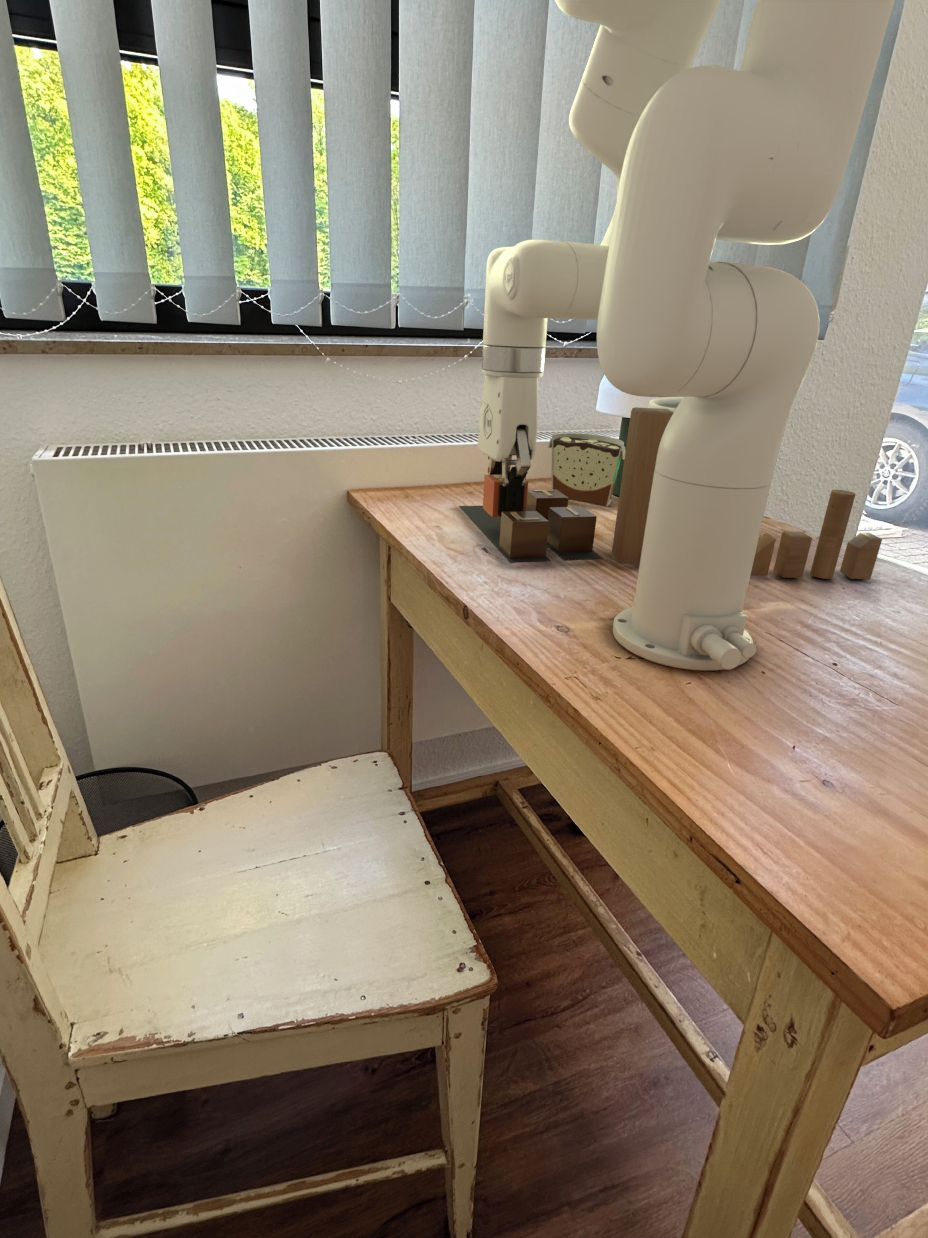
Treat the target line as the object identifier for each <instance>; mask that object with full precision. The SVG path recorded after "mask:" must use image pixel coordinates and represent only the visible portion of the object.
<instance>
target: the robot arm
mask: <svg viewBox="0 0 928 1238" xmlns="http://www.w3.org/2000/svg"><path fill="white" fill-rule="evenodd" d="M895 1H896V0H757V2H756V4H755V7H754V9H753V13H752V15H751V20H750V23H749V28H748V34H747V38H746V44H745V49H744V53H743V56H742V60H741V63H740V69H735V68H731V67H726V66H720V65H715V64H714V65H698V66H693V65H694V63H695V61H696V58H697V57H698V54H699V52H700V49H701V48H702V45H703V42H704V40H705V38H706V36H707V34H708V32H709V29H710V27H711V25H712V22H713V20H714V18H715V15H716V14H717V11H718V9H719V6H720V4H721V2H722V0H554V2H555V3H556V6H557V7H558V9H559V10H560V11H561V12H562V13H563V14H564V15H566V16H568V17H570V18H573V19H576V20H580V21H584V22H587V23H592V24H595V25H598V26H599V25H600V26H599V28H598V30H597V34H596V37H595V40H594V42H593V46H592V48H591V51H590V55H589V57H588V59H587V64H586V66H585V69H584V72H583V73H582V78H581V81H580V83H579V85H578V88H577V91H576V94H575V97H574V100H573V103H572V105H571V108H570V110H569V115H568V125H569V129H570V132H571V134H572V135H573V137H574V138H575V140H576V141H577V143H578V144H579V145H580V146H581V147H582V148H583V149H584V150H585V151H586V152H587V153H589V155H591V156H592V157H593V158H595V159H596V160H597V161H599V162H600V163H601V164H602V165H604V166H605V167H606V168H608V169H609V170H610V171H611V172H612V173H613V176H614V181H615V184H616V201H615V207H614V211H613V214H612V217H611V219H610V222H609V225H608V226H607V229H606V232H605V234H604V236H603V238H602V241H600V244H595V243H584V242H577V241H576V242H575V241H564V240H561V241H560V240H559V241H558V240H550V239H526V240H523V241H521V242H517V244H515V245H514V246H503V247H501V246H500V247H497V248H495V249H493V250H492V251H490V253H489V254H488V256H487V260H486V267H485V287H484V288H485V289H484V309H483V310H484V311H483V330H482V331H483V333H482V352H481V353H482V355H481V375H484V379H483V385H482V392H481V402H480V412H479V424H478V436H477V448H478V449H479V451H480V452H481V453H483V455H485V456H487V459H488V464H487V475H502V484H503V485H499V501H498V515H499V516H500V517H501V513H502V512H513V511H523V507H524V493H525V485H526V481H527V475H528V472H529V470H530V469H531V465H532V464H531V463H532V462H531V461H532V460H533V458H534V457H535V454H536V448H537V440H538V439H537V438H538V426H539V425H538V421H539V378H544V373H545V371H544V370H545V359H546V348H547V347H546V346H547V333H548V321H549V320H550V319H551V320H556V319H562V320H563V319H564V320H585V321H586V320H587V321H597V323H596V349H597V350H596V351H597V356H598V361H599V366H600V368H601V370H602V372H603V374H604V376H605V378H606V380H607V381H608V382H609V383H610V384H611V385H612V386H613V387H614V388H616V389H617V390H619V391H621V392H622V393H625V394H628V395H631V396H636V397H644V398H645V397H647V398H668V397H683V398H682V400H681V402H680V404H679V405H678V407H677V408H676V410H675V411H674V413H673V415H672V417H671V418H670V420H669V422H668V424H667V426H666V428H665V431H664V433H663V436H662V438H661V441H660V445H659V449H658V453H657V459H656V465H655V470H654V476H653V484H652V488H651V495H650V501H649V508H648V514H647V521H646V527H645V533H644V540H643V546H642V553H641V559H640V564H638V571H637V578H636V579H637V580H636V584H635V585H636V586H635V591H634V598H633V605H632V606H631V607H628V608H625V609H624V610H622V611H620V612H618V614H616V615H615V617H614V620H613V625H612V634H613V636H614V639H615V640H616V641H617V643H618V644H620V645H621V646H622V647H623V648H624V649H626V650H627V651H629V652H631V653H632V654H633V655H635V656H638V657H640V658H643V659H644V660H647V661H649V662H653V663H656V664H659V665H662V666H667V667H669V668H676V669H682V670H687V671H688V670H689V671H699V672H700V671H702V672H705V671H706V672H708V671H712V672H714V671H715V672H716V671H723V670H725V671H727V670H730V671H731V670H734V669H735V668H737V667H740V665H742V664H745V663H746V662H747V661H749V659H750V658H752V657H753V656H755V654H756V652H757V651H758V648H757V647H758V646H757V645H756V643H754V639H753V637H752V635H750V632H748V631H747V630H746V629H745V628H746V625H747V624H746V623H747V619H748V615H747V614H745V613H744V612H743V610H744V606H745V602H746V598H747V592H748V588H749V584H750V580H751V579H750V578H751V576H752V575H751V571H752V566H753V562H754V557H755V553H756V549H757V544H758V540H759V537H760V535H761V531H762V526H763V522H764V517H765V513H766V508H767V505H768V504H767V503H768V500H769V494H770V490H771V486H772V483H773V479H774V475H775V470H776V466H777V461H778V457H779V453H780V449H781V445H782V441H783V438H784V434H785V431H786V427H787V424H788V420H789V419H790V414H791V412H792V408H793V407H794V403H795V401H796V399H797V396H798V394H799V391H800V389H801V387H802V385H803V383H804V380H805V378H806V376H807V374H808V372H809V369H810V366H811V363H812V361H813V358H814V355H815V351H816V349H817V345H818V340H819V336H820V313H819V307H818V304H817V301H816V300H815V297H814V295H813V293H812V291H810V289H809V288H808V286H807V285H805V283H804V282H803V281H801V280H800V279H799V278H797V277H796V276H794V275H793V274H791V273H789V272H786V271H784V270H781V269H779V268H775V267H770V266H765V265H756V264H748V263H747V264H746V263H738V262H728V261H711V258H712V254H713V251H714V247H715V244H716V242H717V241H724V242H732V243H741V244H750V245H751V244H752V245H767V246H769V245H771V246H772V245H786V244H791V243H795V242H797V241H801V240H802V239H804V238H806V237H809V235H811V234H812V233H814V231H816V230H817V229H818V228H819V227H820V226H821V225H822V224H823V223H824V221H825V220H826V219H827V218H828V216H829V214H830V212H831V210H832V208H833V207H834V205H835V203H836V200H837V197H838V195H839V192H840V190H841V187H842V184H843V182H844V178H845V174H846V171H847V168H848V165H849V161H850V158H851V156H852V155H851V154H852V150H853V148H854V145H855V141H856V137H857V134H858V130H859V127H860V124H861V120H862V117H863V115H864V114H863V113H864V110H865V107H866V103H867V100H868V96H869V93H870V89H871V86H872V83H873V79H874V76H875V72H876V70H877V65H878V61H879V60H880V59H879V58H880V55H881V51H882V48H883V43H884V39H885V36H886V31H887V28H888V25H889V22H890V18H891V14H892V11H893V8H894V5H895ZM513 456H516V459H513Z"/></svg>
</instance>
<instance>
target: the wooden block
mask: <svg viewBox="0 0 928 1238" xmlns="http://www.w3.org/2000/svg"><path fill="white" fill-rule="evenodd" d="M673 413H674V412H672V411H670V410H668V409H657V408H648V407H638V406H637V407H636V406H635V407H632V408H631V410H630V417H629V422H628V423H629V424H628V432H627V439H626V446H625V459H624V460H623V466H622V467H623V468H622V474H621V481H620V489H619V496H618V503H617V511H616V519H615V525H614V533H613V540H612V548H611V554H612V556H613V558H614V559H615V561H616V562H617V563H618V564H624V565H625V564H626V565H640V559H641V553H642V546H643V540H644V533H645V527H646V521H647V514H648V508H649V501H650V495H651V488H652V484H653V476H654V470H655V465H656V459H657V453H658V449H659V445H660V441H661V438H662V436H663V433H664V431H665V428H666V426H667V424H668V422H669V420H670V418H671V417H672V415H673Z"/></svg>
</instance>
